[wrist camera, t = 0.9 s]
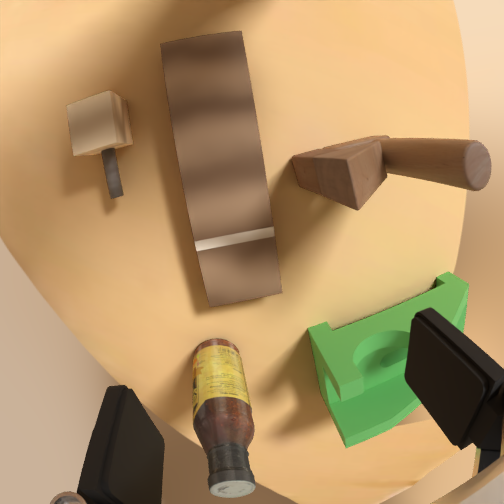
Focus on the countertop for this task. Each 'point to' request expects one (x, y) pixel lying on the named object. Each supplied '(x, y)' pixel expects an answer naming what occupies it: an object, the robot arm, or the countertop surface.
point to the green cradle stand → (377, 362)
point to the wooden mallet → (390, 166)
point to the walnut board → (222, 166)
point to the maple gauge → (101, 132)
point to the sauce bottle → (223, 417)
